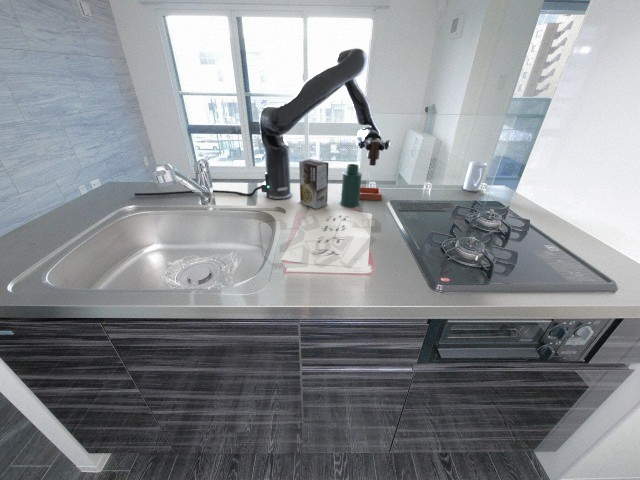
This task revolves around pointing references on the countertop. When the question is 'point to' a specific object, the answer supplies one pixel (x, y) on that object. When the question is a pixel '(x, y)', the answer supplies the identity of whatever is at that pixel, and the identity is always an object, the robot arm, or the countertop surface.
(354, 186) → the flask
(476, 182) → the mug
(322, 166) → the coffee box
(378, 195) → the tray
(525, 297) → the countertop surface
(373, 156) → the stopper
